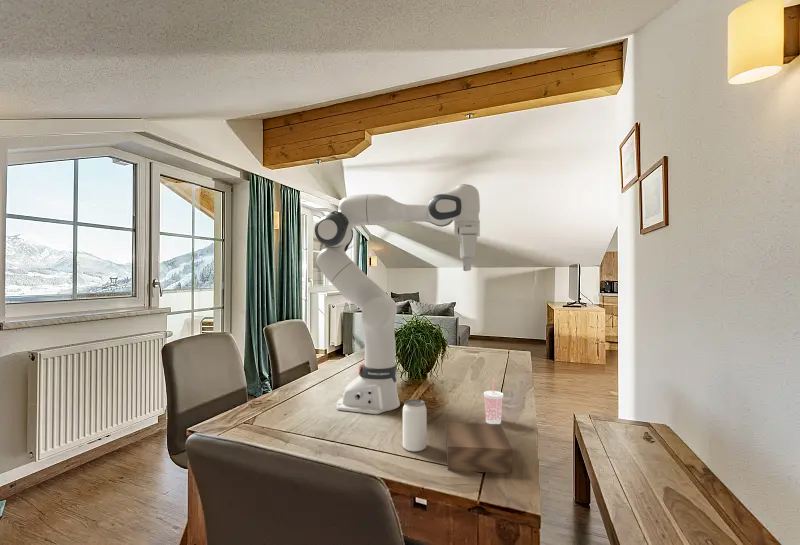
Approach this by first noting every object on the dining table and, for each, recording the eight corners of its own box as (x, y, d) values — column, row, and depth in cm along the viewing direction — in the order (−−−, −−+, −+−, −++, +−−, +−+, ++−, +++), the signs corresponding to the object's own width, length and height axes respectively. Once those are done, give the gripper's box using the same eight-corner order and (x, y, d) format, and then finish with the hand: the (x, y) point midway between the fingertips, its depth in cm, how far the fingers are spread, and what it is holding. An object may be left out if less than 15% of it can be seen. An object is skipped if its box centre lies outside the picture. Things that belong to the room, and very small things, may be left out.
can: (424, 453, 99) (424, 407, 99) (400, 451, 101) (400, 405, 101) (427, 442, 106) (428, 399, 106) (405, 440, 107) (405, 397, 107)
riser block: (447, 471, 91) (447, 446, 91) (445, 444, 106) (445, 422, 106) (512, 474, 90) (512, 448, 90) (500, 446, 105) (500, 424, 105)
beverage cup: (499, 417, 124) (499, 374, 124) (506, 425, 118) (506, 379, 118) (480, 418, 124) (480, 375, 124) (487, 426, 118) (487, 380, 118)
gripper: (456, 234, 145) (456, 271, 145) (459, 227, 124) (459, 270, 124) (473, 234, 144) (473, 271, 144) (479, 227, 124) (479, 270, 124)
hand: (467, 270), depth 134 cm, fingers open, 8 cm apart
